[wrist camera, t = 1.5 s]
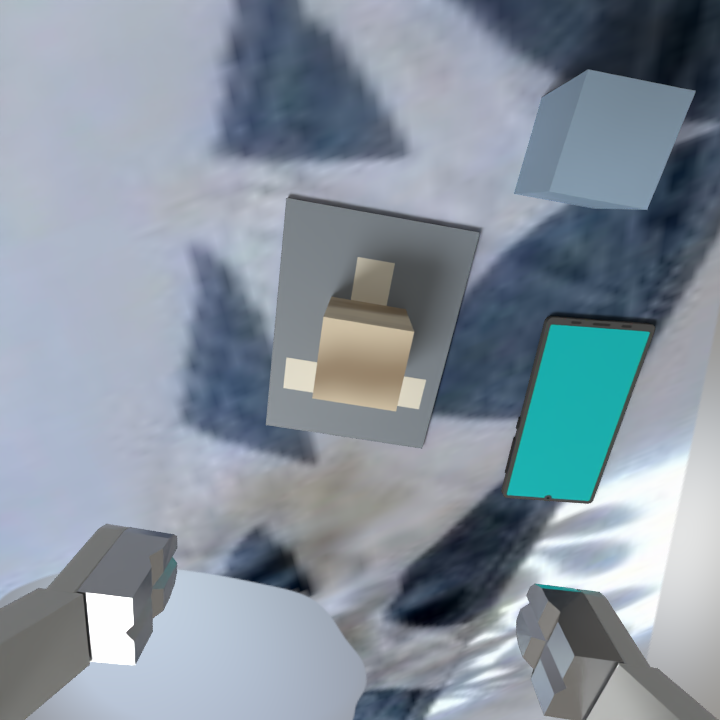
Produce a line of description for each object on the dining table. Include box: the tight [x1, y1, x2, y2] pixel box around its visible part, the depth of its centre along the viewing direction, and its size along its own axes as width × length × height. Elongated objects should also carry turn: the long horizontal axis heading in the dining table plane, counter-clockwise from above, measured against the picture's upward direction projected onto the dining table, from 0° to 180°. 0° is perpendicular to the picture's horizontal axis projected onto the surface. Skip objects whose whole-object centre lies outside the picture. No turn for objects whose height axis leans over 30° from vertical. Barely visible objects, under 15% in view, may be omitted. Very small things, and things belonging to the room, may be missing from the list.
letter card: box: [266, 198, 480, 449], centre depth 27 cm, size 16×12×1 cm
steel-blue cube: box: [514, 69, 696, 210], centre depth 21 cm, size 5×5×5 cm
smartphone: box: [501, 316, 655, 504], centre depth 29 cm, size 7×1×15 cm
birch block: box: [312, 297, 414, 411], centre depth 24 cm, size 5×5×5 cm
